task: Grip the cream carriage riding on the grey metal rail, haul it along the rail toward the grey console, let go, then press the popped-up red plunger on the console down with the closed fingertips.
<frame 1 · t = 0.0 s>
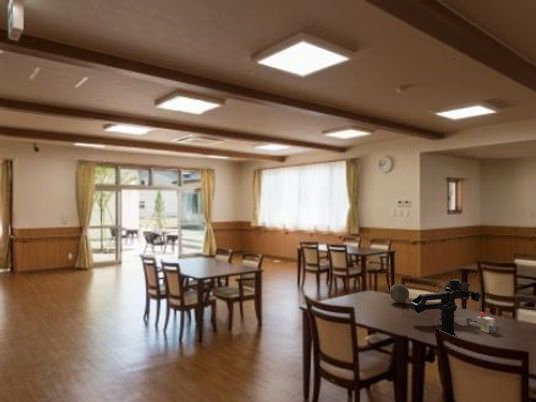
hand: (477, 293, 278), 17 cm above the table, tool horizontal, fingers open, 9 cm apart
plunger: (482, 316, 264), point 5 cm above the table, slide at 0.0 cm
console: (482, 323, 264), on the table
carriage: (487, 324, 249), point 4 cm above the table, slide at 0.7 cm
cantaloupe: (399, 303, 316), on the table
black fluted column: (447, 339, 235), on the table
rail: (480, 328, 254), on the table
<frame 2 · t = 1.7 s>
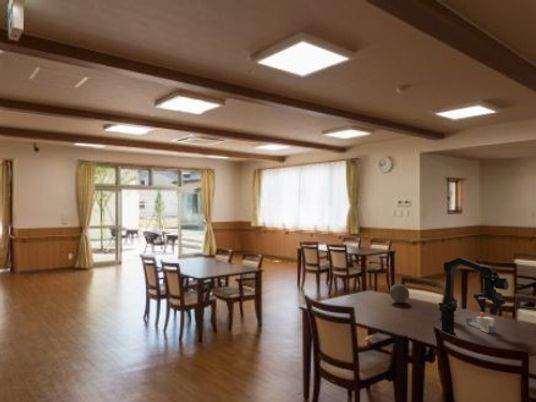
hand: (488, 312, 248), 12 cm above the table, tool pointing down, fingers open, 9 cm apart
nothing on the table moved.
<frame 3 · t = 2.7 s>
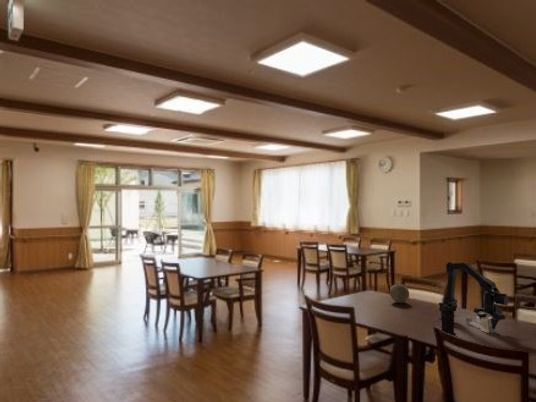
hand: (489, 327, 248), 3 cm above the table, tool pointing down, fingers open, 7 cm apart
nothing on the table moved.
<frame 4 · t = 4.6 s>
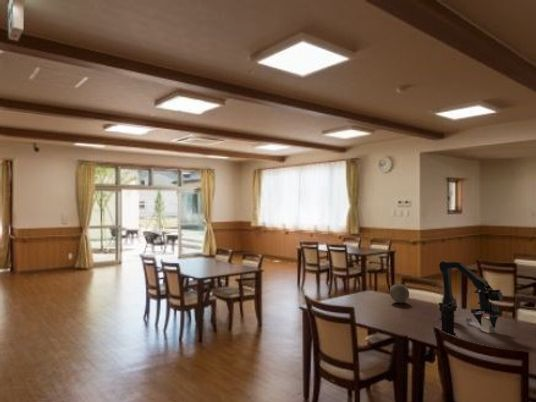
hand: (487, 326, 249), 3 cm above the table, tool pointing down
carriage: (488, 324, 248), point 4 cm above the table, slide at 0.2 cm, touching rail
everything else where it was.
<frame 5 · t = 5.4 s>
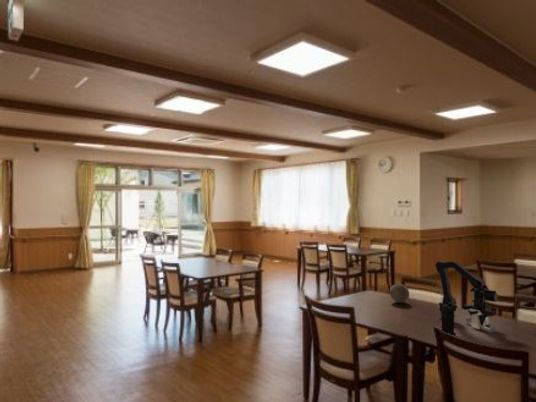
hand: (478, 323, 256), 2 cm above the table, tool pointing down, fingers closed on carriage, 5 cm apart
carriage: (478, 321, 256), point 4 cm above the table, slide at 8.0 cm, touching gripper
everything else where it was.
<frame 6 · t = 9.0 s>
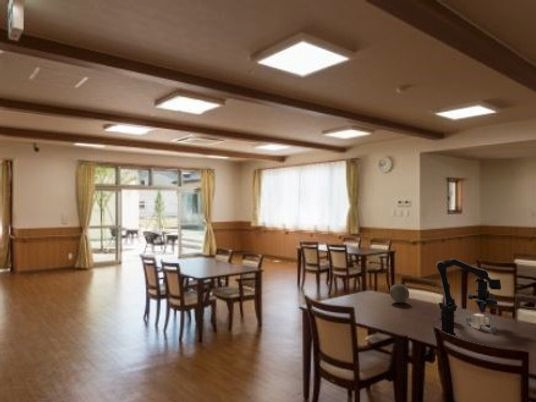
hand: (482, 312, 264), 7 cm above the table, tool pointing down, fingers closed, pressing on plunger
plunger: (482, 316, 264), point 5 cm above the table, slide at 0.0 cm, touching gripper
carriage: (478, 321, 256), point 4 cm above the table, slide at 8.0 cm
everything else where it was.
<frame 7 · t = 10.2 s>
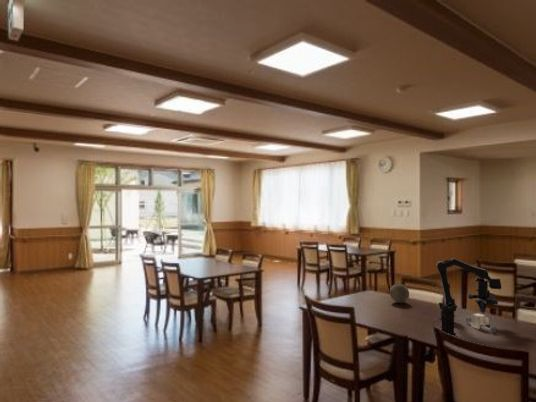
hand: (482, 312, 264), 7 cm above the table, tool pointing down, fingers closed
plunger: (482, 319, 264), point 3 cm above the table, slide at 1.8 cm
everything else where it was.
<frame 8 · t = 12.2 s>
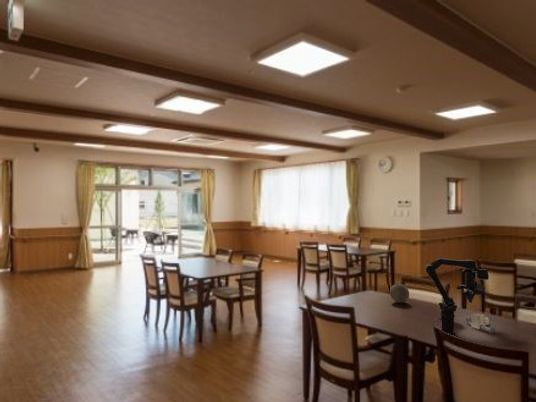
hand: (470, 302, 267), 13 cm above the table, tool pointing down, fingers closed
nothing on the table moved.
at the end: carriage slide at 8.0 cm; plunger slide at 1.8 cm; the gripper is holding nothing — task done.
